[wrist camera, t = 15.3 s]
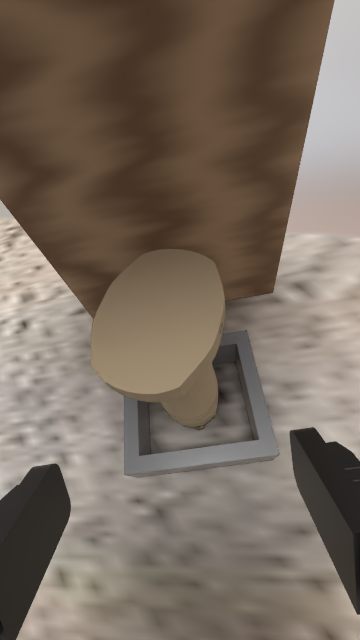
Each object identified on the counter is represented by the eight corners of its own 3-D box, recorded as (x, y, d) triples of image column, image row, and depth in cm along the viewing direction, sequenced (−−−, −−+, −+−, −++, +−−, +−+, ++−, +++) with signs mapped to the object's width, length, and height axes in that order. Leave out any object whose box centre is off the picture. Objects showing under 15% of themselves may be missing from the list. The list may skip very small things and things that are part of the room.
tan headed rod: (157, 443, 23) (65, 376, 10) (179, 368, 26) (130, 244, 13) (217, 460, 21) (198, 409, 9) (233, 379, 24) (236, 254, 12)
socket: (138, 477, 22) (124, 474, 19) (135, 366, 26) (123, 350, 23) (272, 459, 21) (279, 454, 18) (244, 349, 26) (246, 330, 23)
